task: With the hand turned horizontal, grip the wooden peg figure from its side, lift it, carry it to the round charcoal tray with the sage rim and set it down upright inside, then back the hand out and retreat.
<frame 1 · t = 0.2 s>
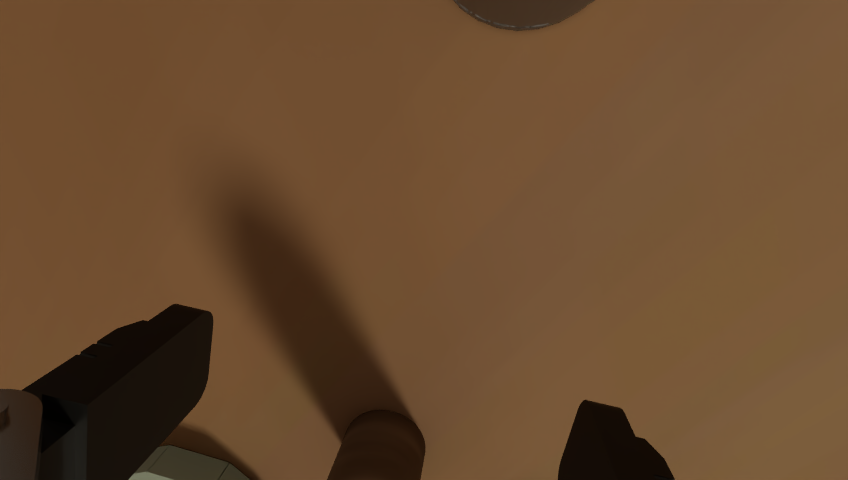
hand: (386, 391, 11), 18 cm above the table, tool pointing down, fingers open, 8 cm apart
wooden peg figure: (385, 444, 33), on the table
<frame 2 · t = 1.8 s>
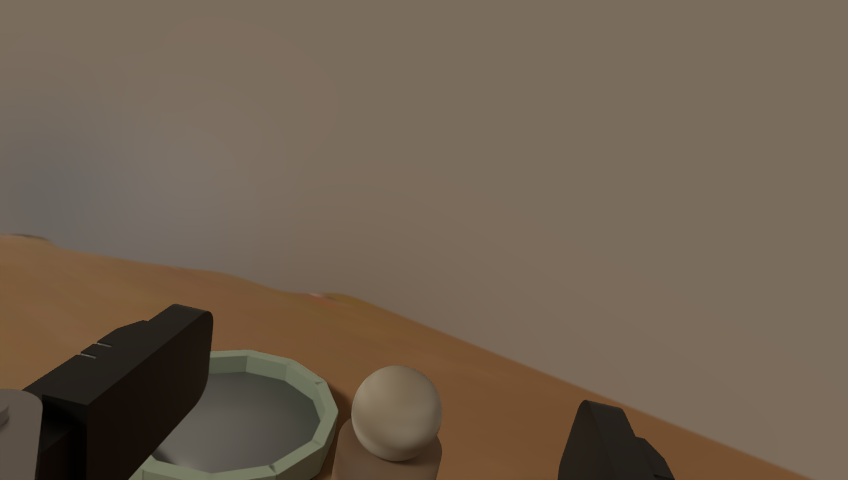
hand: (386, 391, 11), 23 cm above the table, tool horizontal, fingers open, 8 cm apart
round tray: (229, 431, 41), on the table
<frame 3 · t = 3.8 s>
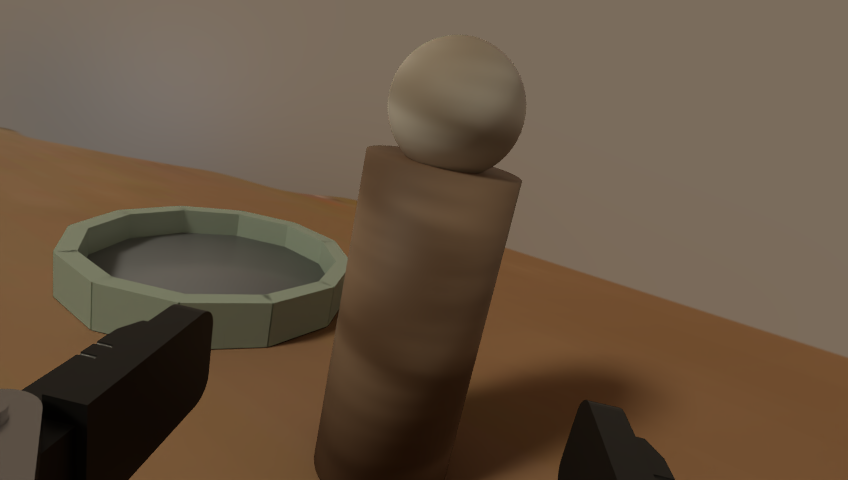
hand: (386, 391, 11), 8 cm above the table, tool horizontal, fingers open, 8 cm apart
round tray: (214, 282, 32), on the table
wooden peg figure: (380, 460, 20), on the table
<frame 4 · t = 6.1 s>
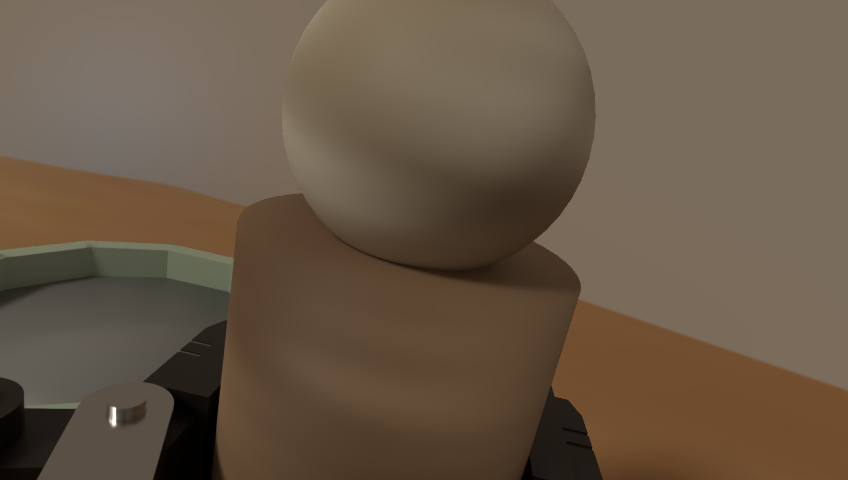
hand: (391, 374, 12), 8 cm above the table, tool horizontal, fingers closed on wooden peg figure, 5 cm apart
round tray: (115, 354, 23), on the table
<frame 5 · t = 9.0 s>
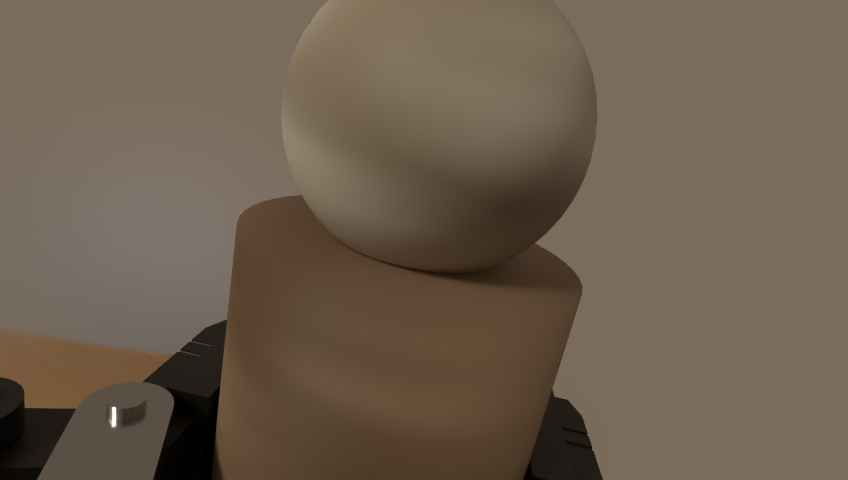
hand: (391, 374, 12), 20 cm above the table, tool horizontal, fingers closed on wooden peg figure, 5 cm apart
when the fingers open (10 cm above the table, at t = 11.9 s): wooden peg figure stays where it is, resting on round tray.
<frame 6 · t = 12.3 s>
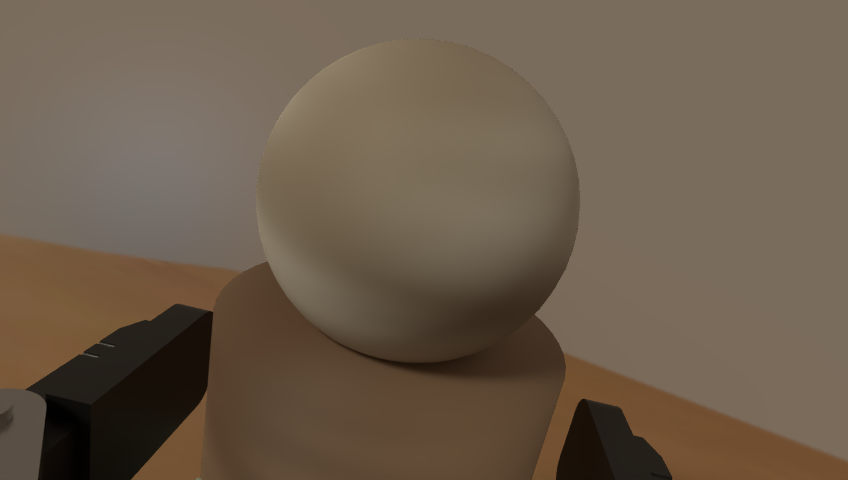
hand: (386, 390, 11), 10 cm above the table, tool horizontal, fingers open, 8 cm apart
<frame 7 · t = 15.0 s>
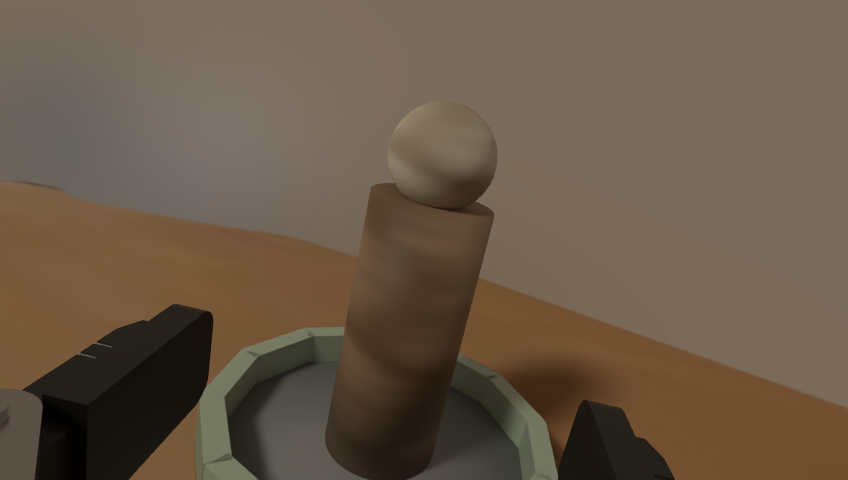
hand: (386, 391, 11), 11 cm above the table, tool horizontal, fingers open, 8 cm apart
round tray: (375, 453, 25), on the table
wooden peg figure: (379, 440, 25), point 1 cm above the table, touching round tray
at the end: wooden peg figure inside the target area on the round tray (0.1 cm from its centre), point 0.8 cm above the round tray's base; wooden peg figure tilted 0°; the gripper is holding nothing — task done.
